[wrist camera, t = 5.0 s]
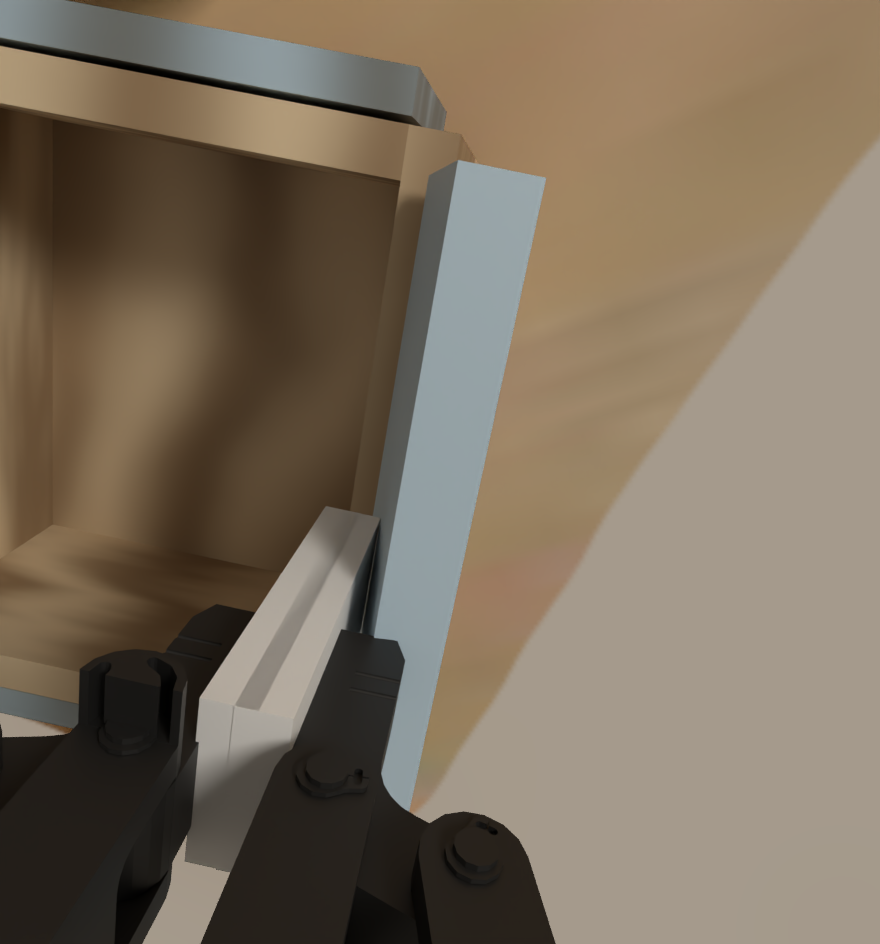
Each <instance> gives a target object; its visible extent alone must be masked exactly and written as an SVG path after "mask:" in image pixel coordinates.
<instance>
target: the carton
mask: <svg viewBox="0 0 880 944" xmlns="http://www.w3.org/2000/svg"><path fill="white" fill-rule="evenodd" d="M446 113H447V112H446V110H445V109H444V107H443V105H442V104H441V102H440V100H439V99H438V97H437V96H436V94H435V92H434V91H433V89H432V87H431V86H430V84H429V82H428V81H427V79H426V77H425V76H424V74H423V72H422V71H421V69H420V67H416V66H411V65H405V64H400V63H395V62H390V61H384V60H379V59H374V58H368V57H363V56H358V55H353V54H347V53H342V52H337V51H331V50H326V49H321V48H316V47H310V46H305V45H300V44H294V43H289V42H284V41H279V40H273V39H268V38H263V37H257V36H252V35H247V34H242V33H236V32H231V31H226V30H220V29H215V28H210V27H205V26H199V25H194V24H189V23H183V22H178V21H173V20H168V19H162V18H157V17H152V16H146V15H141V14H136V13H131V12H125V11H120V10H115V9H109V8H104V7H99V6H94V5H88V4H83V3H78V2H72V1H67V0H0V713H4V714H9V715H14V716H18V717H23V718H27V719H32V720H36V721H41V722H45V723H50V724H54V725H59V726H63V727H68V728H74V727H75V726H76V725H77V724H78V712H79V670H80V668H82V667H83V666H84V665H86V664H87V663H89V662H90V661H92V660H93V659H95V658H97V657H100V656H103V655H106V654H109V653H112V652H115V651H123V650H132V649H141V650H150V651H157V652H160V653H165V652H166V649H167V648H168V646H169V645H170V644H171V643H172V642H173V640H174V639H175V638H178V634H179V633H180V632H181V630H182V629H183V628H184V627H185V626H186V624H187V623H188V622H189V621H190V619H191V618H192V617H193V616H195V615H197V614H199V613H201V612H202V611H204V610H206V609H208V608H210V607H212V606H214V605H216V604H219V605H224V606H228V607H233V608H237V609H242V610H247V611H251V612H256V611H257V610H258V608H259V607H260V605H261V604H262V602H263V601H264V599H265V598H266V596H267V595H268V593H269V592H270V590H271V589H272V587H273V586H274V584H275V583H276V581H277V580H278V578H279V576H280V575H281V573H282V572H283V570H284V569H285V567H286V566H287V564H288V563H289V561H290V560H291V558H292V557H293V555H294V554H295V552H296V551H297V549H298V548H299V546H300V545H301V543H302V542H303V540H304V539H305V537H306V535H307V534H308V532H309V531H310V529H311V528H312V526H313V525H314V523H315V522H316V520H317V519H318V517H319V516H320V514H321V513H322V511H323V510H324V508H325V507H326V506H328V507H333V508H337V509H342V510H347V511H352V512H356V513H361V514H365V515H370V516H373V511H374V505H375V499H376V493H377V487H378V481H379V475H380V468H381V462H382V456H383V450H384V444H385V438H386V432H387V426H388V420H389V414H390V408H391V402H392V396H393V390H394V384H395V377H396V371H397V365H398V359H399V353H400V347H401V341H402V335H403V329H404V323H405V317H406V311H407V305H408V299H409V292H410V286H411V280H412V274H413V268H414V262H415V256H416V250H417V244H418V238H419V232H420V226H421V220H422V214H423V207H424V201H425V195H426V189H427V183H428V177H429V175H431V174H432V173H434V172H436V171H438V170H440V169H442V168H444V167H446V166H448V165H449V164H451V163H453V162H455V161H457V160H461V161H466V162H471V163H476V164H478V162H477V160H476V159H475V157H474V155H473V153H472V152H471V150H470V148H469V147H468V145H467V143H466V142H465V140H464V138H463V137H462V135H461V134H457V133H451V132H446V131H444V125H445V119H446Z"/></svg>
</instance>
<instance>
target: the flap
mask: <svg viewBox="0 0 880 944" xmlns="http://www.w3.org/2000/svg"><path fill="white" fill-rule="evenodd" d="M545 181H546V178H544V177H539V176H534V175H529V174H525V173H520V172H515V171H510V170H505V169H500V168H495V167H490V166H485V165H481V164H476V163H471V162H466V161H461V160H457V161H455V162H453V163H451V164H449V165H448V166H446V167H444V168H442V169H440V170H438V171H436V172H434V173H432V174H431V175H429V177H428V183H427V189H426V195H425V201H424V207H423V214H422V220H421V226H420V232H419V238H418V244H417V250H416V256H415V262H414V268H413V274H412V280H411V286H410V292H409V299H408V305H407V311H406V317H405V323H404V329H403V335H402V341H401V347H400V353H399V359H398V365H397V371H396V377H395V384H394V390H393V396H392V402H391V408H390V414H389V420H388V426H387V432H386V438H385V444H384V450H383V456H382V462H381V468H380V475H379V481H378V487H377V493H376V499H375V505H374V511H373V516H374V517H379V518H380V524H379V529H378V535H377V541H376V547H375V552H374V558H373V564H372V570H371V575H370V581H369V587H368V592H367V598H366V604H365V610H364V615H363V621H362V627H361V631H360V633H362V634H367V635H371V636H374V638H380V639H388V640H395V641H398V644H399V646H400V649H401V651H402V654H403V656H404V659H405V665H404V670H403V675H402V679H401V684H400V689H399V694H398V699H397V704H396V709H395V714H394V719H393V724H392V729H391V734H390V738H389V743H388V747H387V751H386V755H385V760H384V764H383V769H382V773H381V775H382V779H383V783H384V786H385V787H386V789H387V791H388V792H389V794H390V796H391V797H392V798H393V799H394V800H395V801H396V802H397V803H398V804H399V805H400V806H401V807H402V808H404V809H405V810H407V811H408V812H409V809H410V805H411V800H412V796H413V791H414V786H415V782H416V777H417V772H418V768H419V763H420V759H421V754H422V749H423V745H424V740H425V735H426V731H427V726H428V722H429V717H430V712H431V708H432V703H433V699H434V694H435V689H436V685H437V680H438V675H439V671H440V666H441V662H442V657H443V652H444V648H445V643H446V638H447V634H448V629H449V625H450V620H451V615H452V611H453V606H454V601H455V597H456V592H457V588H458V583H459V578H460V574H461V569H462V565H463V560H464V555H465V551H466V546H467V541H468V537H469V532H470V528H471V523H472V518H473V514H474V509H475V504H476V500H477V495H478V491H479V486H480V481H481V477H482V472H483V467H484V463H485V458H486V454H487V449H488V444H489V440H490V435H491V431H492V426H493V421H494V417H495V412H496V407H497V403H498V398H499V394H500V389H501V384H502V380H503V375H504V370H505V366H506V361H507V357H508V352H509V347H510V343H511V338H512V333H513V329H514V324H515V320H516V315H517V310H518V306H519V301H520V297H521V292H522V287H523V283H524V278H525V273H526V269H527V264H528V260H529V255H530V250H531V246H532V241H533V236H534V232H535V227H536V223H537V218H538V213H539V209H540V204H541V199H542V195H543V190H544V186H545Z"/></svg>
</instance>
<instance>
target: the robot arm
mask: <svg viewBox="0 0 880 944" xmlns="http://www.w3.org/2000/svg"><path fill="white" fill-rule="evenodd" d="M379 524H380V518H379V517H374V516H370V515H365V514H361V513H356V512H352V511H347V510H342V509H337V508H333V507H328V506H326V507H325V508H324V510H323V511H322V513H321V514H320V516H319V517H318V519H317V520H316V522H315V523H314V525H313V526H312V528H311V529H310V531H309V532H308V534H307V535H306V537H305V539H304V540H303V542H302V543H301V545H300V546H299V548H298V549H297V551H296V552H295V554H294V555H293V557H292V558H291V560H290V561H289V563H288V564H287V566H286V567H285V569H284V570H283V572H282V573H281V575H280V576H279V578H278V580H277V581H276V583H275V584H274V586H273V587H272V589H271V590H270V592H269V593H268V595H267V596H266V598H265V599H264V601H263V602H262V604H261V605H260V607H259V608H258V610H257V611H256V612H251V611H247V610H242V609H237V608H233V607H228V606H224V605H219V604H216V605H214V606H212V607H210V608H208V609H206V610H204V611H202V612H201V613H199V614H197V615H195V616H193V617H192V618H191V619H190V621H189V622H188V623H187V624H186V626H185V627H184V628H183V629H182V630H181V632H180V633H179V634H178V638H175V639H174V640H173V642H172V643H171V644H170V645H169V646H168V648H167V649H166V652H165V653H160V652H157V651H150V650H141V649H132V650H123V651H115V652H112V653H109V654H106V655H103V656H100V657H97V658H95V659H93V660H92V661H90V662H89V663H87V664H86V665H84V666H83V667H82V668H80V670H79V712H78V724H77V725H76V726H75V727H74V728H73V730H72V731H71V732H70V733H68V734H64V735H55V736H46V737H45V736H42V737H2V729H1V725H0V944H142V943H143V941H144V939H145V937H146V935H147V933H148V931H149V929H150V928H151V926H152V923H153V922H154V920H155V918H156V916H157V914H158V912H159V910H160V909H161V907H162V905H163V903H164V901H165V899H166V896H167V892H168V889H169V886H170V882H171V872H172V871H171V870H172V862H173V860H174V858H175V856H176V854H177V852H178V850H179V848H180V846H181V845H182V843H183V841H184V839H185V837H186V835H187V842H186V853H185V861H186V862H190V863H195V864H199V865H203V866H207V867H212V868H216V869H217V870H222V871H226V872H230V875H229V878H228V880H227V882H226V885H225V887H224V889H223V892H222V894H221V897H220V899H219V901H218V903H217V906H216V908H215V911H214V913H213V916H212V918H211V921H210V923H209V925H208V927H207V930H206V932H205V934H204V937H203V940H202V942H201V944H555V941H554V937H553V934H552V931H551V928H550V925H549V922H548V918H547V915H546V912H545V909H544V906H543V903H542V900H541V896H540V893H539V890H538V887H537V884H536V880H535V877H534V874H533V871H532V868H531V865H530V862H529V858H528V856H527V854H526V852H525V850H524V848H523V847H522V845H521V843H520V841H519V839H518V838H517V837H516V836H515V835H513V834H512V833H511V832H510V831H509V830H508V829H507V828H506V827H505V826H504V825H503V824H501V823H499V822H497V821H495V820H493V819H491V818H489V817H486V816H485V815H480V814H475V813H469V812H458V813H451V814H445V815H443V816H441V817H440V818H438V819H436V820H434V821H433V822H431V823H428V822H426V821H424V820H422V819H420V818H418V817H416V816H414V815H413V814H411V813H410V812H408V811H407V810H405V809H404V808H402V807H401V806H400V805H399V804H398V803H397V802H396V801H395V800H394V799H393V798H392V797H391V796H390V794H389V792H388V791H387V789H386V787H385V786H384V783H383V779H382V775H381V773H382V769H383V764H384V760H385V755H386V751H387V747H388V743H389V738H390V734H391V729H392V724H393V719H394V714H395V709H396V704H397V699H398V694H399V689H400V684H401V679H402V675H403V670H404V665H405V659H404V656H403V654H402V651H401V649H400V646H399V644H398V641H395V640H388V639H380V638H374V636H371V635H367V634H362V633H360V631H361V627H362V621H363V615H364V610H365V604H366V598H367V592H368V587H369V581H370V575H371V570H372V564H373V558H374V552H375V547H376V541H377V535H378V529H379Z"/></svg>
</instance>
